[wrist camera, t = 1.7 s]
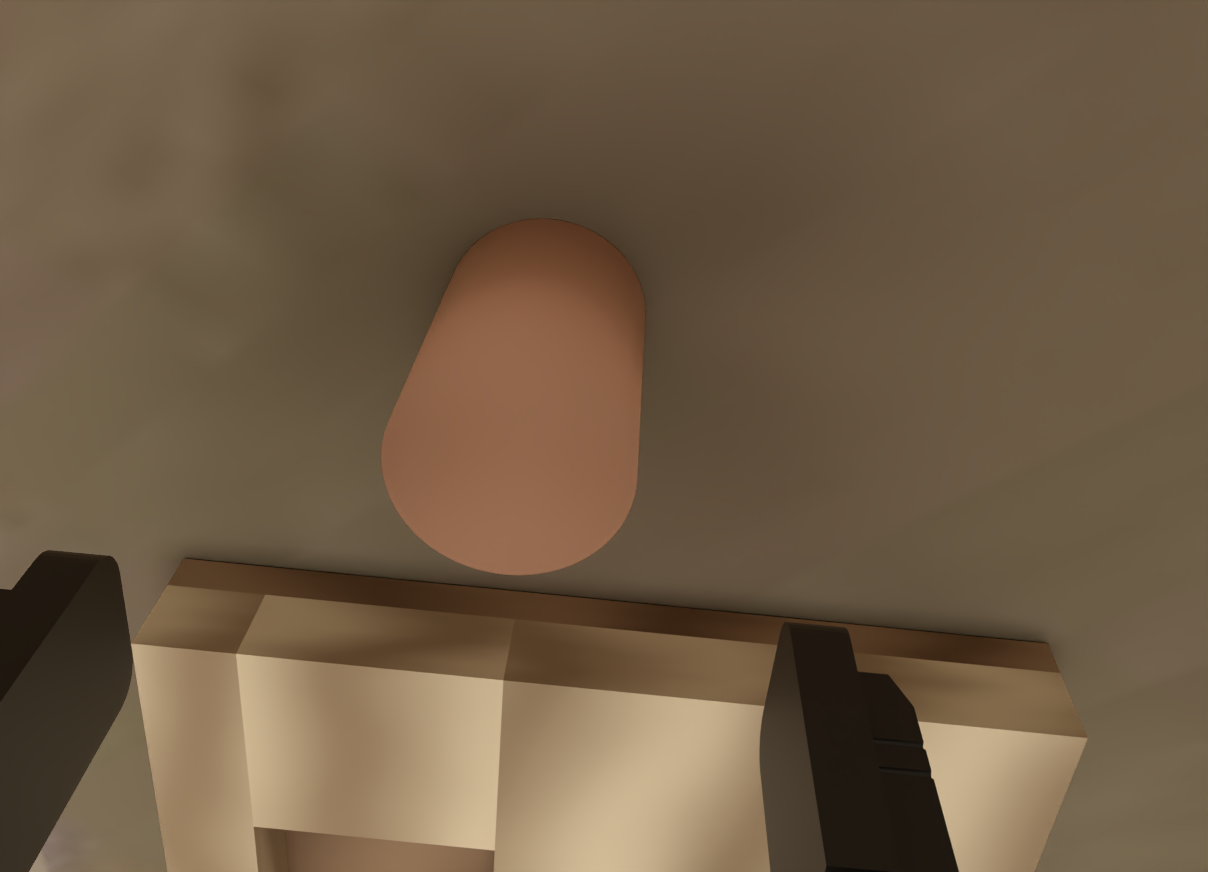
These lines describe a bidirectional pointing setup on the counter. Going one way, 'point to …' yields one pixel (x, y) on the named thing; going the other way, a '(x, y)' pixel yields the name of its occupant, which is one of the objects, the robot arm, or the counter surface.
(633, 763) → the pin board
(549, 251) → the terracotta pin
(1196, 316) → the counter surface
